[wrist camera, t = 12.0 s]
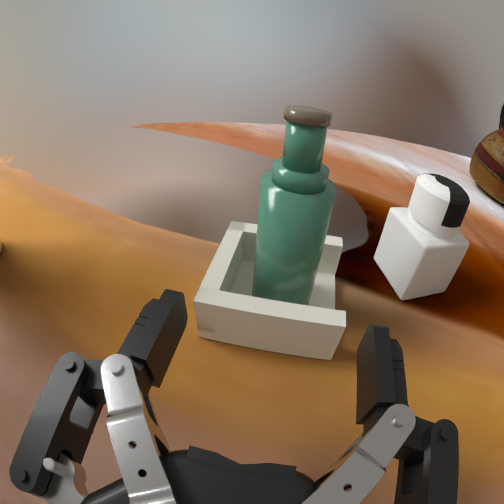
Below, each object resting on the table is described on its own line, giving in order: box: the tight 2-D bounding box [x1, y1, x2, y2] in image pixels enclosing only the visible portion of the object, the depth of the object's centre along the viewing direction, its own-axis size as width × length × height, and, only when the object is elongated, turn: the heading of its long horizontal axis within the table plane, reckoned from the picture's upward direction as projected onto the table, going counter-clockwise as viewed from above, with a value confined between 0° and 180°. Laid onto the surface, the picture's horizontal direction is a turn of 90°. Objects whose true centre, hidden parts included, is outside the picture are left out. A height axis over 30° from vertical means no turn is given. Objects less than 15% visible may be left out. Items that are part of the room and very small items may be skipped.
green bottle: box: [252, 105, 336, 305], centre depth 22 cm, size 5×5×16 cm
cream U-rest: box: [193, 221, 346, 360], centre depth 26 cm, size 11×11×4 cm
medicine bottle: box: [374, 174, 470, 300], centre depth 27 cm, size 7×7×12 cm
